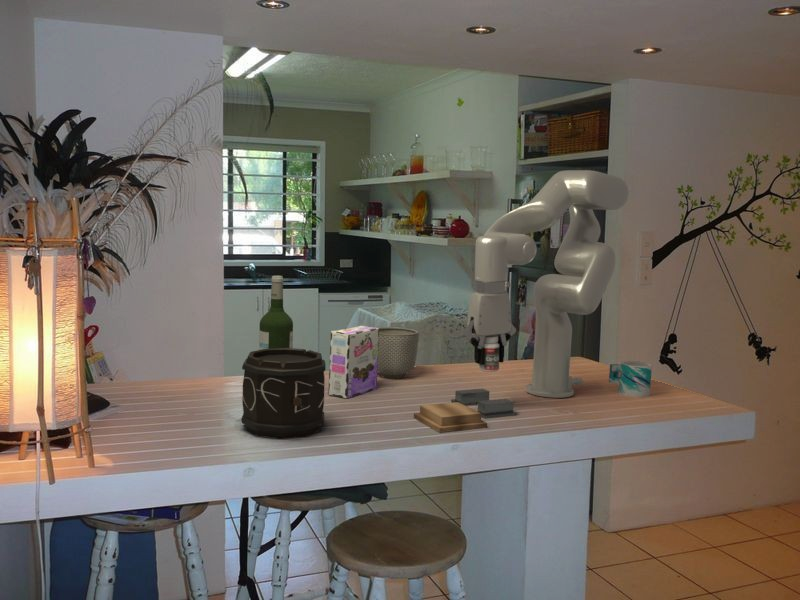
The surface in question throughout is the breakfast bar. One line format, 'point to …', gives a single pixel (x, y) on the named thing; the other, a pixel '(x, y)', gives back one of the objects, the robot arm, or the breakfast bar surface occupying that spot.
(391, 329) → the planter
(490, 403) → the clamp jaws
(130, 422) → the breakfast bar surface
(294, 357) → the wooden barrel
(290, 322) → the wine bottle
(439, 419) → the tan square pedestal
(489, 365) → the pill bottle
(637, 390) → the mug
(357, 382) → the candy box
